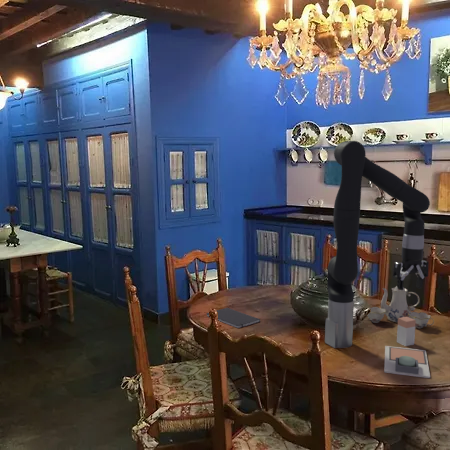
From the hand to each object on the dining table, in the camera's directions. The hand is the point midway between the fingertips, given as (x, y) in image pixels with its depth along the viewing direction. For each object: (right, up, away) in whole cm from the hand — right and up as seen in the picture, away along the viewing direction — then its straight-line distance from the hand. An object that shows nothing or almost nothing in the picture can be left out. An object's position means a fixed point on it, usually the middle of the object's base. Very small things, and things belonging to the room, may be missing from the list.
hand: (409, 288), depth 192 cm
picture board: (-7, -23, -16) cm, 29 cm away
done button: (-9, -22, -23) cm, 33 cm away
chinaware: (+4, -18, +25) cm, 31 cm away
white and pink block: (-1, -21, +1) cm, 21 cm away
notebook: (-66, -17, +29) cm, 74 cm away
